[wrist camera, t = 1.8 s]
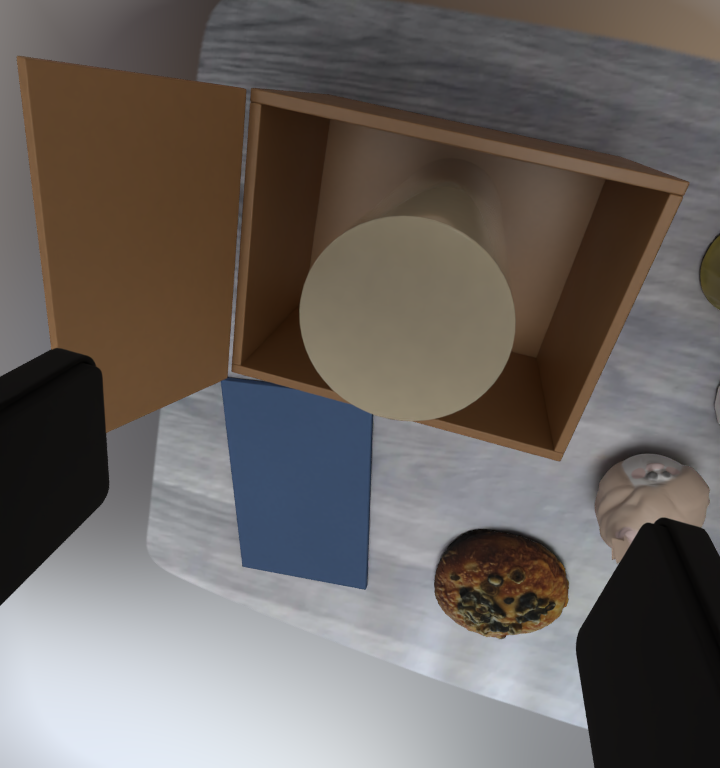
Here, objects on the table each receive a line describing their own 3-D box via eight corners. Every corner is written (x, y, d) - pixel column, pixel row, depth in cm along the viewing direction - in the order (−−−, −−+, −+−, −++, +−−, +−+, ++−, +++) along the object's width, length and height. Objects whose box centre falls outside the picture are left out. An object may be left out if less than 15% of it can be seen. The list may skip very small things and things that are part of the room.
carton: (300, 301, 37) (230, 372, 27) (327, 94, 31) (250, 87, 21) (540, 363, 36) (560, 462, 26) (622, 157, 29) (690, 182, 19)
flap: (227, 378, 27) (222, 375, 27) (247, 89, 20) (239, 87, 20) (68, 450, 20) (62, 445, 20) (24, 57, 14) (15, 55, 14)
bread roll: (489, 504, 41) (495, 557, 37) (595, 565, 44) (611, 621, 40) (406, 572, 47) (404, 624, 43) (503, 622, 50) (510, 677, 45)
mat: (223, 376, 42) (220, 379, 41) (373, 394, 39) (372, 398, 39) (244, 562, 51) (242, 566, 50) (367, 584, 49) (365, 590, 48)
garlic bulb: (614, 425, 36) (644, 499, 30) (709, 452, 36) (761, 535, 29) (575, 496, 40) (593, 578, 33) (661, 522, 39) (698, 612, 32)
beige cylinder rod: (374, 205, 33) (257, 303, 16) (461, 133, 30) (426, 163, 13) (435, 287, 34) (384, 453, 18) (523, 225, 31) (560, 355, 15)
